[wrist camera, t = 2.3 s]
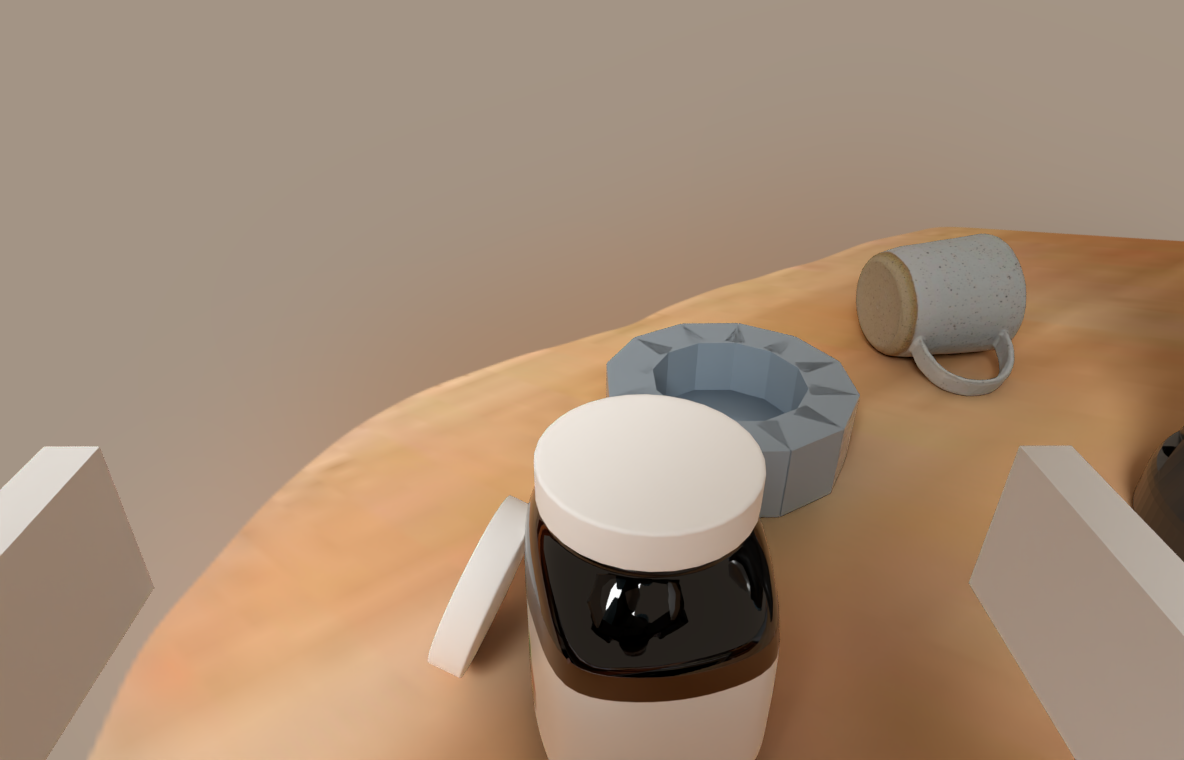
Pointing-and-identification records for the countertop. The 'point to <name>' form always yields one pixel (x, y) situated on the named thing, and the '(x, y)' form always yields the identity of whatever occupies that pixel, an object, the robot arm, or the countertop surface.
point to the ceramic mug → (944, 305)
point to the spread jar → (635, 585)
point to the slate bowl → (753, 397)
